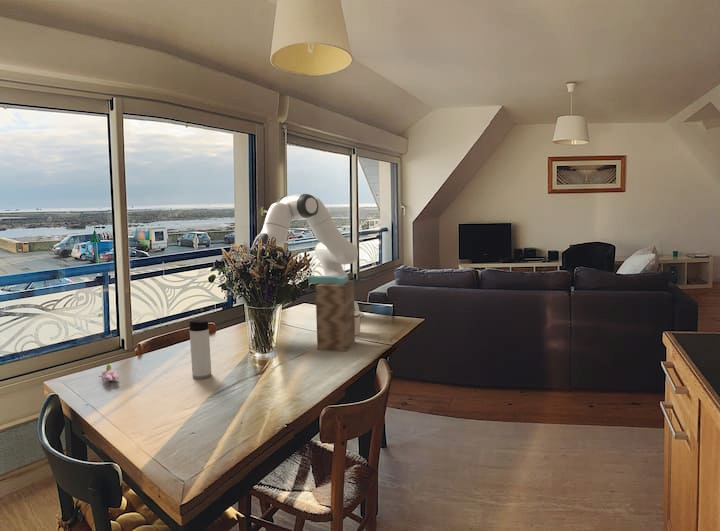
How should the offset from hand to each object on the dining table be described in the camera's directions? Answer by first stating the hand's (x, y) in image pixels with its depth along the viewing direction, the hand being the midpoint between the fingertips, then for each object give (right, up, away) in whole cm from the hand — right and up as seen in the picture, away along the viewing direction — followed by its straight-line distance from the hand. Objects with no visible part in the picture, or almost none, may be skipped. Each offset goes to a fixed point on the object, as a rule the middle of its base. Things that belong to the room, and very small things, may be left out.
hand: (310, 278), depth 209 cm
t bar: (+5, -2, -1) cm, 6 cm away
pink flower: (-65, -34, -35) cm, 81 cm away
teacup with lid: (+14, -25, +20) cm, 35 cm away
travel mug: (-34, -33, -32) cm, 58 cm away
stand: (+10, -28, +1) cm, 30 cm away
